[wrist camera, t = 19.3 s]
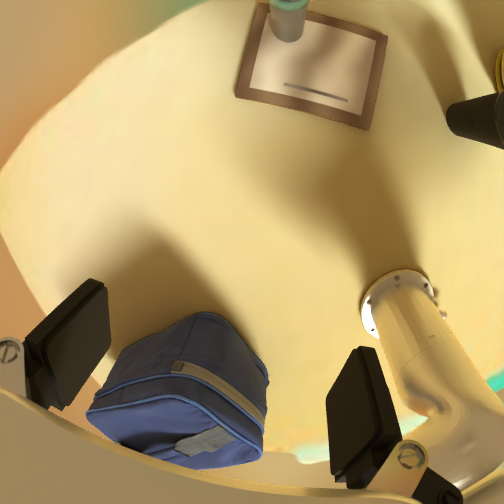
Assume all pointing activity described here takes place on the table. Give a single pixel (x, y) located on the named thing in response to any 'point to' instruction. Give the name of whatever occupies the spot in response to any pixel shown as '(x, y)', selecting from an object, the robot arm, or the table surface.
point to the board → (315, 68)
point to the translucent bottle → (288, 18)
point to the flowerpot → (500, 70)
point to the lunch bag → (186, 396)
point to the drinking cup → (479, 119)
